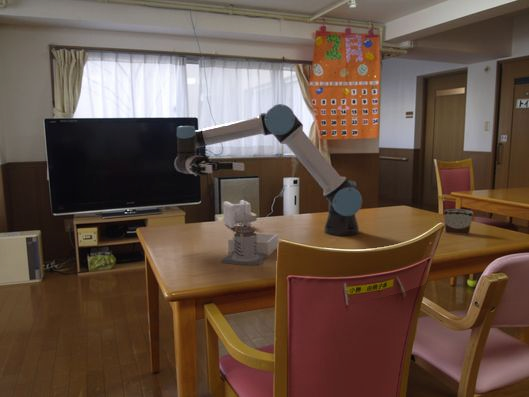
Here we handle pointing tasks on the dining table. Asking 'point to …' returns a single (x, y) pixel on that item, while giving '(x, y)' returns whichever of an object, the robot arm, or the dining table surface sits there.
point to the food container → (458, 221)
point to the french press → (245, 238)
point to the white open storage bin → (259, 243)
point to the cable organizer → (235, 212)
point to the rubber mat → (256, 262)
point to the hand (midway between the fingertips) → (227, 168)
